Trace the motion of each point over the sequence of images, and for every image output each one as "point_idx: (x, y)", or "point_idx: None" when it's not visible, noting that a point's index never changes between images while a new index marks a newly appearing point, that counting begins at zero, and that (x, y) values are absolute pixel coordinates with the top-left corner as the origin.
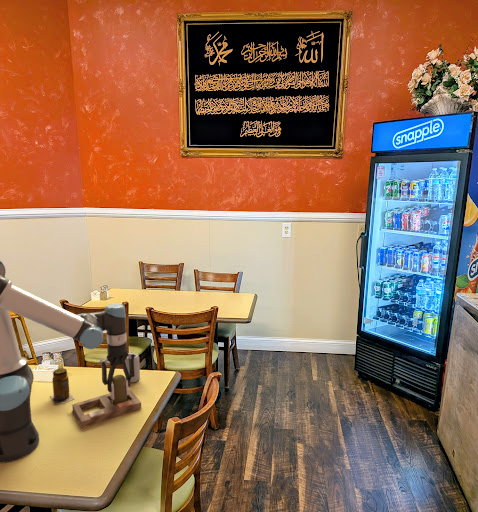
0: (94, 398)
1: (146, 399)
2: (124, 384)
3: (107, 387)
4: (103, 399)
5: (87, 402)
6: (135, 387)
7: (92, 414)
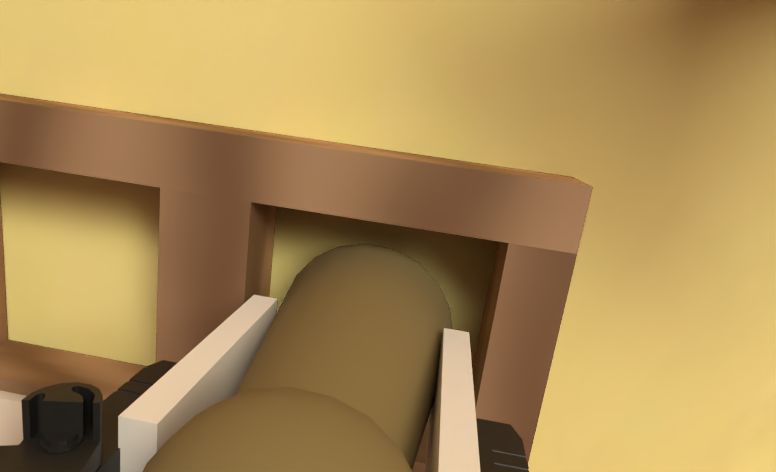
0: (113, 134)
1: (632, 438)
2: (436, 422)
3: (115, 391)
4: (195, 234)
5: (23, 163)
6: (722, 105)
7: (5, 438)
